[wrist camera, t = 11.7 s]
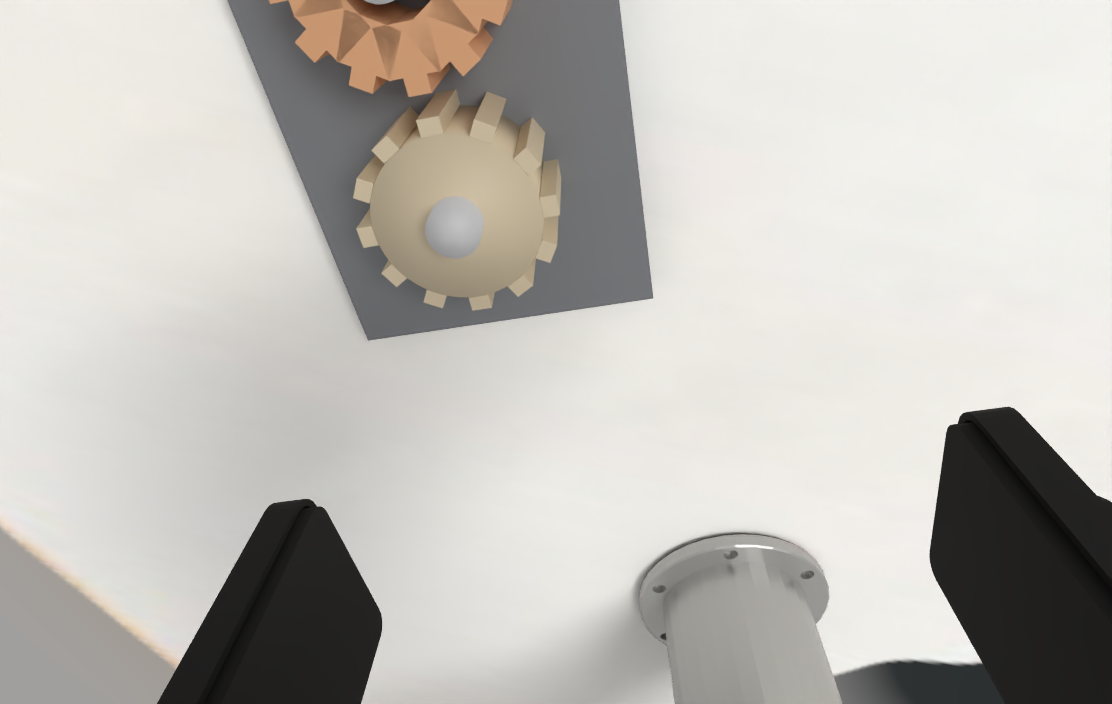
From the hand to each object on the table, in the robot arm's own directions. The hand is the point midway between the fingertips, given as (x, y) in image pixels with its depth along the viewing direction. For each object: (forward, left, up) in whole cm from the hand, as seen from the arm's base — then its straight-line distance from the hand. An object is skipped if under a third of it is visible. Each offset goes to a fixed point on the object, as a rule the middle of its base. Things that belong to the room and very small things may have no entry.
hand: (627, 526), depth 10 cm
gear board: (+3, +5, -21) cm, 22 cm away
